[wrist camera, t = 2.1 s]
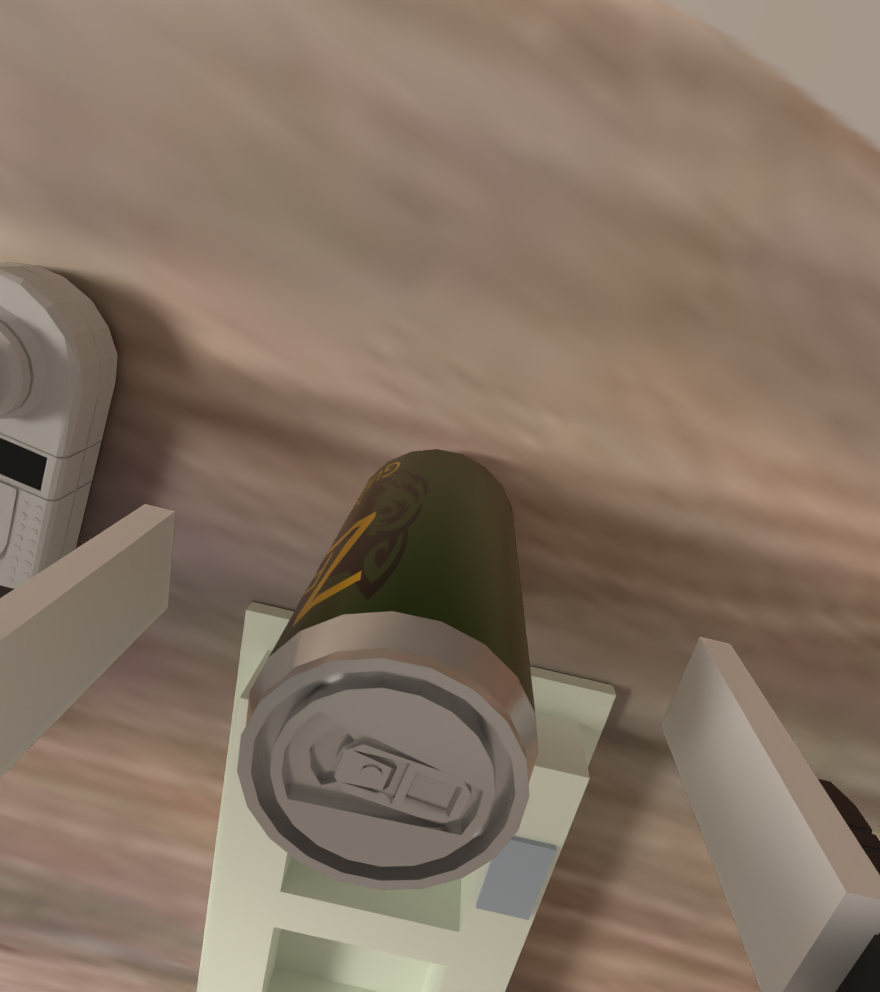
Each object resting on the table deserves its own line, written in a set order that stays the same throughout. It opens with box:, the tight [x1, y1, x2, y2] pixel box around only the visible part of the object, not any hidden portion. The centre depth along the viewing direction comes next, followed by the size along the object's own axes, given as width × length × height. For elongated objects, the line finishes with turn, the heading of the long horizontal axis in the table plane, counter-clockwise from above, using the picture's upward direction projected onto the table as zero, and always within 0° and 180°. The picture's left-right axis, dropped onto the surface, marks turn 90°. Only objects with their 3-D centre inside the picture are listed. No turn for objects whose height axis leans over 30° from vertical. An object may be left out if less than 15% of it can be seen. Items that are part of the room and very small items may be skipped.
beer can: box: [237, 449, 539, 890], centre depth 16 cm, size 5×5×12 cm
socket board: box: [197, 602, 616, 992], centre depth 25 cm, size 14×22×4 cm, turn 167°
